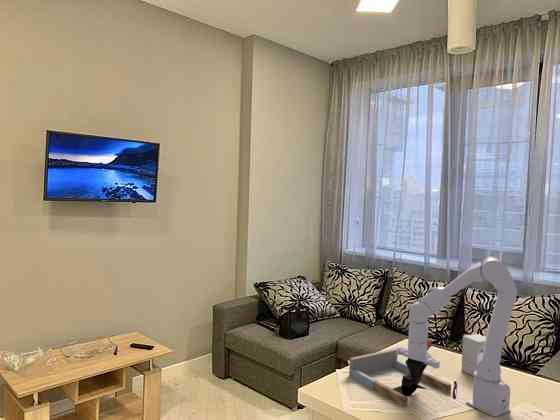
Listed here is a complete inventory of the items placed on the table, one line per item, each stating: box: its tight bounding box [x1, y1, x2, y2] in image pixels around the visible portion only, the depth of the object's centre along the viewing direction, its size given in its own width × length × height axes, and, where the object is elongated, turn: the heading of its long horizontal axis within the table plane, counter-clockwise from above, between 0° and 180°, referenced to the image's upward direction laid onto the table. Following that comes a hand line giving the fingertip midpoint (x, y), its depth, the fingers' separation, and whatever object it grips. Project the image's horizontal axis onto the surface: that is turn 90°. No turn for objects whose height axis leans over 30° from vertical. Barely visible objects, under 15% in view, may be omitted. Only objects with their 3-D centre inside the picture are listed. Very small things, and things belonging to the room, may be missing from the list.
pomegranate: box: [427, 339, 433, 357], centre depth 171 cm, size 7×7×10 cm
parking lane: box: [348, 348, 452, 408], centre depth 146 cm, size 24×21×6 cm
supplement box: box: [460, 333, 486, 377], centre depth 157 cm, size 7×7×13 cm
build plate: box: [392, 374, 429, 398], centre depth 142 cm, size 12×7×5 cm, turn 124°
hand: (415, 383), depth 139 cm, fingers closed
